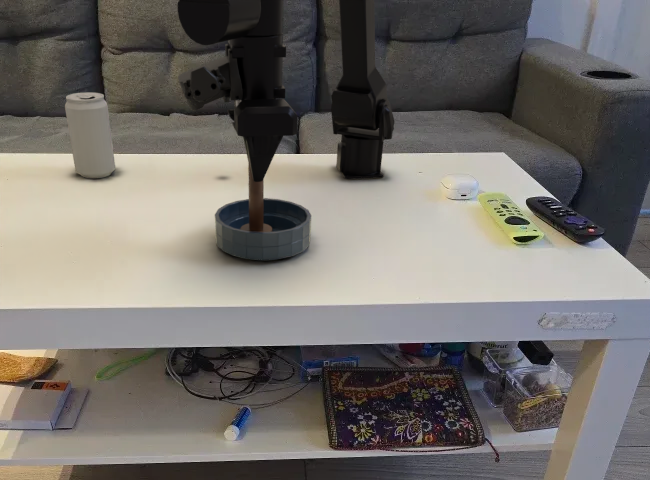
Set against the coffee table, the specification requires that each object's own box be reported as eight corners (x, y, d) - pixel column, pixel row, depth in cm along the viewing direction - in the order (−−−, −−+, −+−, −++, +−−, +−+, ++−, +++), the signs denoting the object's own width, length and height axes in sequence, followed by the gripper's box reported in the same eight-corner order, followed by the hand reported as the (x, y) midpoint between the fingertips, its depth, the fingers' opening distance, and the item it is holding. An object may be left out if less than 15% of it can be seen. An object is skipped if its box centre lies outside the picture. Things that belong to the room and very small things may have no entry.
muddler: (269, 230, 86) (270, 141, 80) (274, 243, 83) (275, 151, 76) (238, 232, 85) (237, 142, 79) (242, 244, 82) (240, 152, 76)
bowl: (300, 224, 92) (301, 196, 89) (318, 261, 82) (319, 230, 79) (212, 229, 90) (211, 200, 88) (220, 267, 80) (219, 235, 78)
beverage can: (87, 182, 105) (75, 102, 98) (68, 172, 109) (55, 94, 102) (123, 174, 108) (114, 96, 102) (103, 165, 112) (93, 89, 106)
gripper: (177, 22, 77) (185, 157, 86) (183, 47, 62) (193, 209, 71) (271, 21, 79) (270, 155, 88) (300, 46, 64) (296, 204, 73)
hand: (256, 178), depth 80 cm, fingers closed on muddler, 2 cm apart
